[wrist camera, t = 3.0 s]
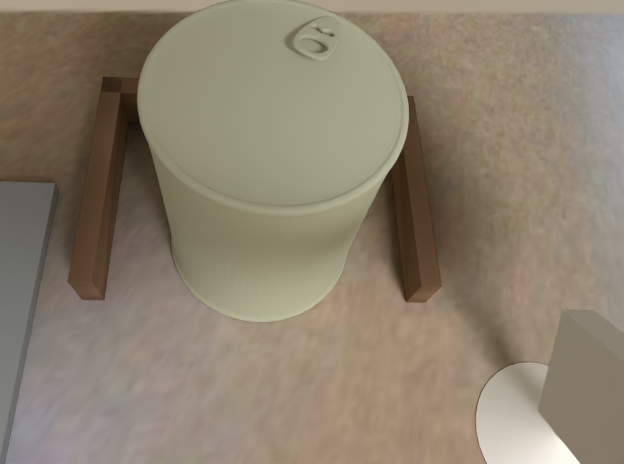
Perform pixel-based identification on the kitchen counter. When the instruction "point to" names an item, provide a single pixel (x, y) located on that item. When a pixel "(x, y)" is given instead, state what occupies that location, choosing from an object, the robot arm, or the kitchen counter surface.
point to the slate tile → (19, 282)
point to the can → (268, 148)
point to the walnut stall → (107, 177)
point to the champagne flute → (517, 419)
